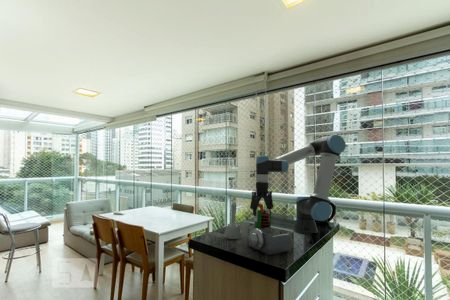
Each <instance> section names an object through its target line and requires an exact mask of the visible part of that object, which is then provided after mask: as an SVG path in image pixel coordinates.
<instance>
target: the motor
mask: <svg viewBox="0 0 450 300" xmlns="http://www.w3.org/2000/svg"><path fill="white" fill-rule="evenodd" d="M257 208H259V209H257V210H258V219H257V222H255V221H254V223H253V224H254V227H253V228H266V227H269V228H270V229H271V227H272V226H271V224H272V221H271V220H272V211H271V210H270V214H268V213H266V209H264V204H263V203H260V202H259V204H258V207H257ZM268 216H270V217H268ZM268 219H270V220H268Z"/></svg>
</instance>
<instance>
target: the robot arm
mask: <svg viewBox="0 0 450 300" xmlns="http://www.w3.org/2000/svg"><path fill="white" fill-rule="evenodd" d="M346 147H347V144H346V142H345V139H344V138H343V137H342V136H341V135H338V134H330V135H327V136H323V137H319V138H317V139H315V140H313V141H311V142H309V143H306V145H305V146H302V147H300V148H297V149H295V150H292V151H290V152H287V153H284V154H283V155H280V156H276V157H274V158H272V159H270V156H269V155H258V156H256V160H255V170H256V171H255V181H256V182H255V189H256V190H255V191H252V192H251V201H250V204H249V205H250V206H249V209H251V210H252V216H253V222H254V223H255V222H257V219H258V210H259V209H258V208H259V207H258V204H259V203H260V202H261V200H262V199H263V201H264V203H265V207H266V208H265V210H266V213H268V214H270V211H271V210H272V209H273V208H274V203H273V202H274V201H273V196H272V195H273V191H270V190H269V188H270V187H269V186H270V184H269V179H270V177H269V176H270V173H287V172H288V170H289V166H290V165H293V164H294V163H297V162H300V161H301V160H305V159H306V158H310V157H312V158H313V157H316V156H320V157H321V158H320V161H319V166H318V167H319V168H318V171H317V175H316V181H315V184H314V188H313V193H311V194H310V195H309V196H297V197H296V202H295V203H296V204H295V205H296V209H295V210H296V213H295V215H296V216H295V217H296V219H295V222H294V225H293V231H294V232H295V231H296V232H295V233H297V232H299V233H298V234H302V233H304V234H303V235H313V234H312V233H317V232H318V230H319V229H318V228H317V224H316V221H318V222H319V221H320V222H324V221H326V220H328V219H330V217H331V215H332V212H333V211H332V210H333V209H332V207H331V205H330V199H329V193H330V190H331V184H332V179H333V175H334V171H335V165H336V162H337V160H338V159H340V155H341V153H343V152H345V150H346ZM268 217H270V216H268ZM268 220H270V219H268ZM317 234H318V233H317Z"/></svg>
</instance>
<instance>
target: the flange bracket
mask: <svg viewBox="0 0 450 300" xmlns="http://www.w3.org/2000/svg"><path fill="white" fill-rule="evenodd" d="M247 246H248V247H250V248H253V249H254V250H255V251H259V252H261V253H263V254H266V255H267V256H269V255H271V256H272V255H275V254H281V253H284V252H289V251H290V250H291V249H290V233H283V234H282V233H281V234H274V235H272V234H271V228H269V227H266V228H254V227H248V228H247Z"/></svg>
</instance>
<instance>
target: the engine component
mask: <svg viewBox="0 0 450 300" xmlns="http://www.w3.org/2000/svg"><path fill="white" fill-rule="evenodd" d="M230 206H231V208H230V212H231V223H228V224H227V226H225V230H224V237H225V238H226V239H230V240H237V239H241V238H242V230H241V229H242V227H241V225H240V223H236V214H237V201H231V205H230Z"/></svg>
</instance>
